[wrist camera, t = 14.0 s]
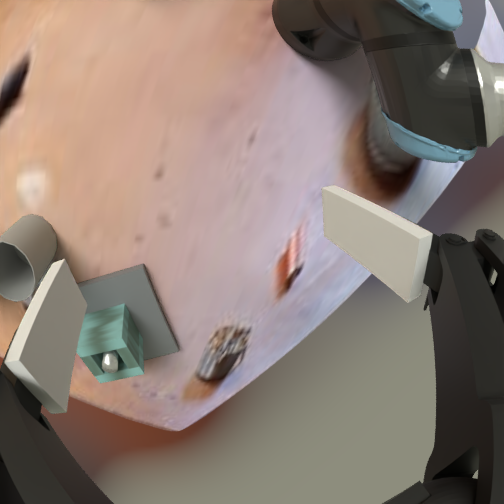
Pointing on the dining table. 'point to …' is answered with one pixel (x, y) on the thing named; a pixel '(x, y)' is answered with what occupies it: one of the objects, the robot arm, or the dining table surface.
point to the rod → (110, 361)
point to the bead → (111, 343)
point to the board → (133, 306)
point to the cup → (25, 256)
